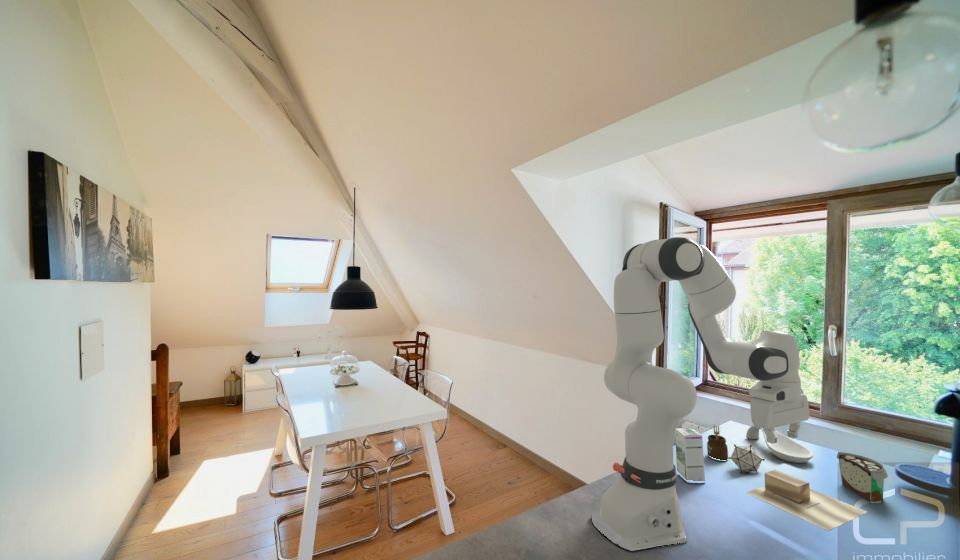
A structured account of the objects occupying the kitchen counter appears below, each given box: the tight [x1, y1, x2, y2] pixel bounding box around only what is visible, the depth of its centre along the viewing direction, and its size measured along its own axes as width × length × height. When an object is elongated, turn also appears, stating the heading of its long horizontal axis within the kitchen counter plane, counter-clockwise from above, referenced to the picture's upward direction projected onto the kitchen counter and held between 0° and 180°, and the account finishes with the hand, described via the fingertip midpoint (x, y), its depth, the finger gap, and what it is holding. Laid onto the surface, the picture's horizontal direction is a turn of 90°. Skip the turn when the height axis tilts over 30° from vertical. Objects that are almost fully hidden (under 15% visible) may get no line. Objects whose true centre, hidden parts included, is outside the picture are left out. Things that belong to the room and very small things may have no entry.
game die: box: [728, 444, 766, 474], centre depth 114 cm, size 9×8×10 cm
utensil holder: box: [706, 423, 729, 461], centre depth 124 cm, size 6×6×12 cm
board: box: [746, 485, 869, 532], centre depth 95 cm, size 18×18×1 cm
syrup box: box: [674, 427, 706, 482], centre depth 111 cm, size 6×6×14 cm
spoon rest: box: [745, 424, 814, 464], centre depth 128 cm, size 24×12×7 cm, turn 179°
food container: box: [836, 451, 889, 504], centre depth 98 cm, size 12×6×10 cm, turn 168°
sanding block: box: [764, 469, 811, 504], centre depth 99 cm, size 5×8×4 cm, turn 22°
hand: (782, 440), depth 100 cm, fingers open, 8 cm apart
